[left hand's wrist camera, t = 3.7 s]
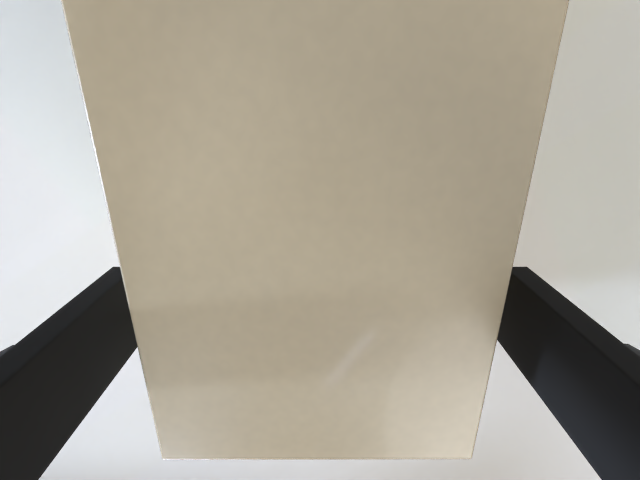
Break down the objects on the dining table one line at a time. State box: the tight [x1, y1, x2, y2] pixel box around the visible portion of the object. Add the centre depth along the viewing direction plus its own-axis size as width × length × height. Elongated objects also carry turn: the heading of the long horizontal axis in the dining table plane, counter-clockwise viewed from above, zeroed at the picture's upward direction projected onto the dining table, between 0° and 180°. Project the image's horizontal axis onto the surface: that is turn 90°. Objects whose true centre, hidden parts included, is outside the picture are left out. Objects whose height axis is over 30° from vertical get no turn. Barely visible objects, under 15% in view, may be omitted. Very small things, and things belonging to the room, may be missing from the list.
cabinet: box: [61, 0, 569, 460], centre depth 13 cm, size 20×10×11 cm, turn 0°
